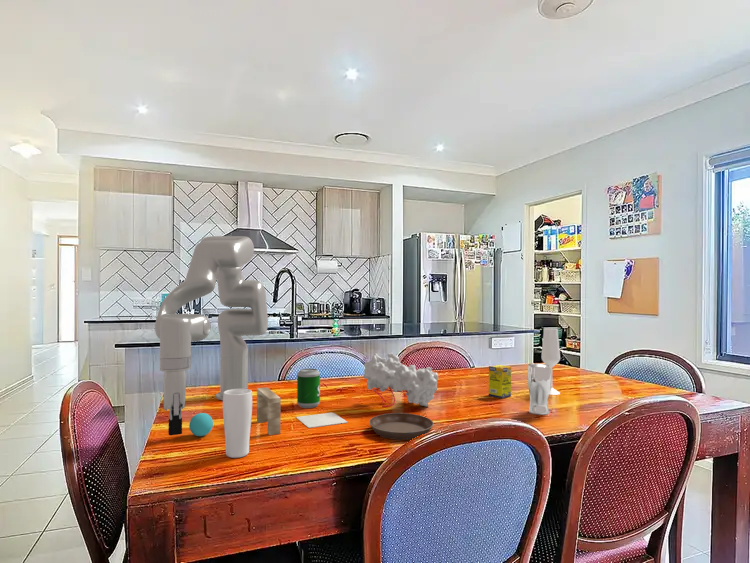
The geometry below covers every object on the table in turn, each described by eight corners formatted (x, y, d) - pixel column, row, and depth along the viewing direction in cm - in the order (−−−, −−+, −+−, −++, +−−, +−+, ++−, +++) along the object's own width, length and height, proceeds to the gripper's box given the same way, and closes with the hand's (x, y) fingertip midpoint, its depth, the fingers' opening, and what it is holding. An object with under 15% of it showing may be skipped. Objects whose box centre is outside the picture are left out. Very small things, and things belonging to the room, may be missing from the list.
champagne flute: (563, 394, 178) (563, 329, 178) (544, 394, 178) (544, 329, 178) (556, 390, 185) (556, 328, 185) (538, 390, 185) (538, 327, 185)
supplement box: (502, 398, 171) (502, 368, 171) (488, 396, 176) (488, 365, 176) (511, 396, 175) (511, 366, 175) (497, 393, 180) (497, 364, 180)
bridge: (269, 435, 130) (269, 399, 130) (256, 421, 143) (257, 388, 143) (280, 433, 131) (280, 397, 131) (267, 419, 144) (267, 387, 145)
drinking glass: (226, 450, 118) (226, 388, 118) (254, 449, 118) (254, 388, 118) (219, 460, 111) (219, 395, 111) (249, 459, 112) (249, 394, 112)
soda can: (315, 409, 157) (315, 372, 157) (293, 408, 158) (293, 371, 158) (322, 403, 164) (322, 368, 164) (301, 402, 166) (301, 367, 166)
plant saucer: (444, 439, 127) (444, 427, 127) (379, 445, 122) (379, 433, 122) (419, 421, 144) (419, 411, 144) (361, 426, 139) (361, 415, 139)
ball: (188, 434, 130) (188, 411, 130) (211, 431, 133) (211, 409, 133) (190, 440, 125) (190, 417, 125) (214, 437, 128) (214, 414, 128)
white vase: (550, 410, 155) (550, 364, 155) (550, 416, 149) (550, 367, 149) (527, 408, 158) (527, 362, 158) (527, 414, 151) (527, 366, 151)
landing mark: (296, 417, 147) (296, 416, 147) (332, 413, 152) (332, 412, 152) (308, 428, 136) (308, 427, 136) (347, 422, 141) (347, 422, 141)
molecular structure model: (394, 419, 172) (342, 385, 162) (417, 373, 178) (368, 337, 168) (428, 431, 155) (372, 394, 145) (452, 380, 161) (400, 341, 151)
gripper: (159, 360, 132) (158, 428, 131) (160, 369, 118) (160, 444, 118) (188, 358, 135) (188, 424, 135) (193, 367, 121) (192, 440, 121)
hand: (175, 433), depth 126 cm, fingers closed
